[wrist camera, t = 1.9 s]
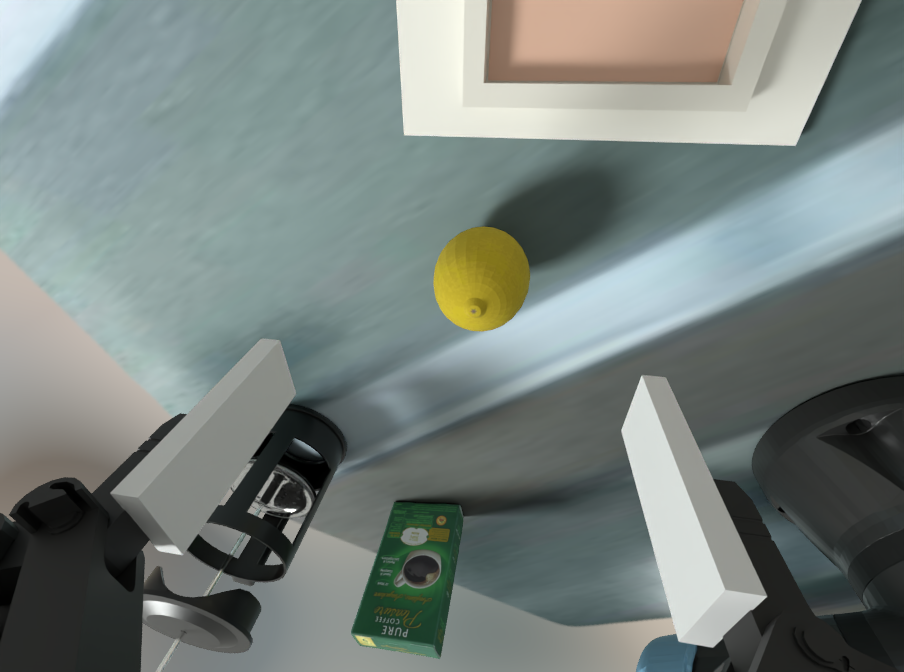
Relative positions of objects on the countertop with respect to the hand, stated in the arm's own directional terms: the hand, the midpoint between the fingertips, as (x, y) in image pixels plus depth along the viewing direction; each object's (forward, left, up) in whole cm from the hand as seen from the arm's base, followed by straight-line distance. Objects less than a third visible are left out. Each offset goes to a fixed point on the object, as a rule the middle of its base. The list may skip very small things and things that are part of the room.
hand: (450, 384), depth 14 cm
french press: (+18, +22, -14) cm, 32 cm away
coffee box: (+5, +31, -14) cm, 35 cm away
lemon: (0, 0, -14) cm, 14 cm away
